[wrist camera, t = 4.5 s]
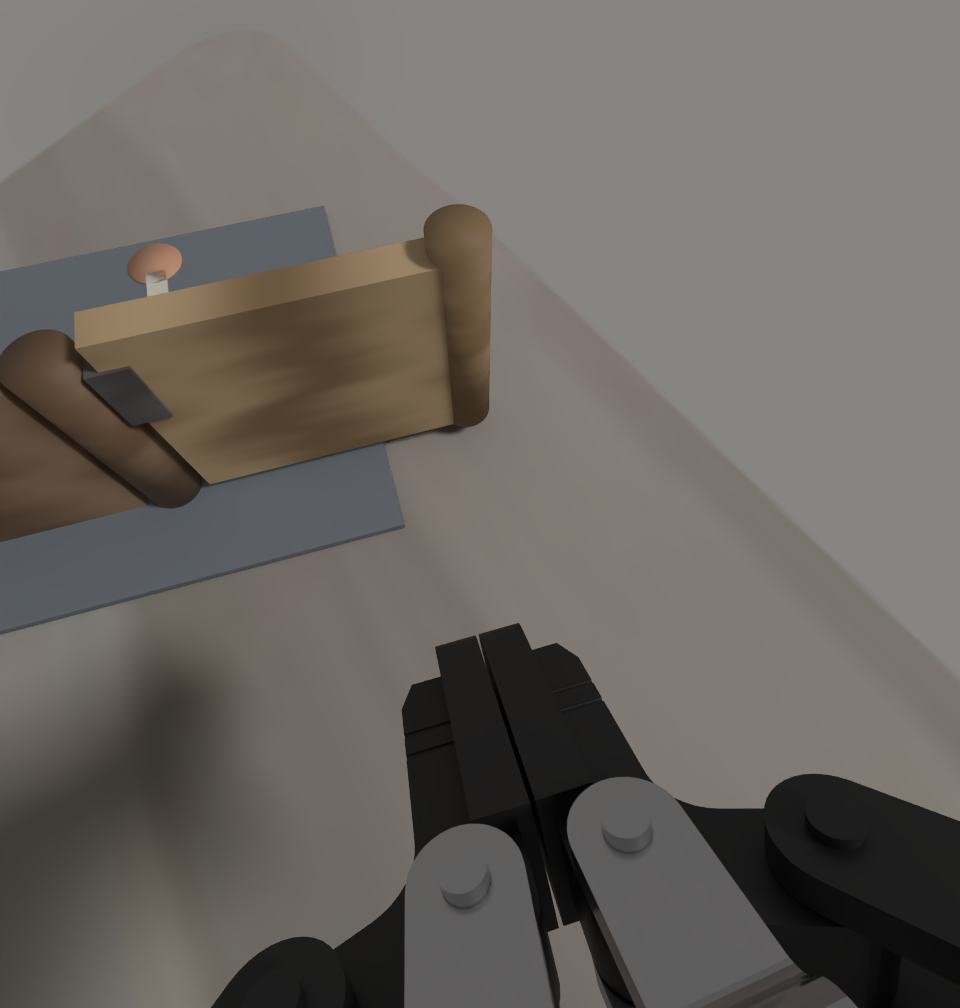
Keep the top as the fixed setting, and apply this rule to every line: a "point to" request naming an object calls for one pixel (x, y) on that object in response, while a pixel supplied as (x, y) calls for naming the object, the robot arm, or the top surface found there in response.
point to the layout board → (217, 507)
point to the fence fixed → (74, 445)
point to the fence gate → (305, 352)
